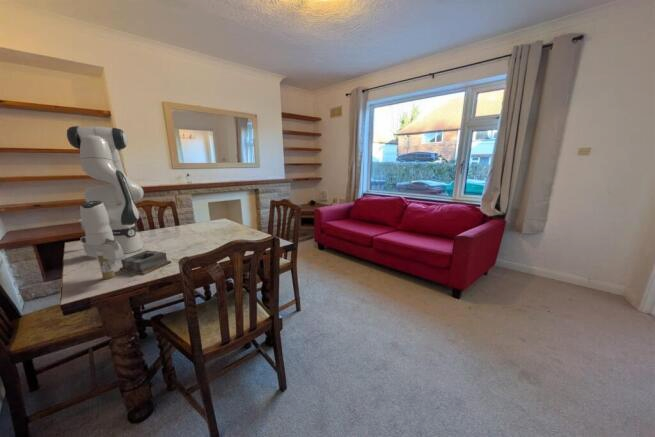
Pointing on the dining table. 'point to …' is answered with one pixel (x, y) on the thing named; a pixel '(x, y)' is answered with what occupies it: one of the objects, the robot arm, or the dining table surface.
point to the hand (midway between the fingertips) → (108, 266)
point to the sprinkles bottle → (105, 266)
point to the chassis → (144, 262)
